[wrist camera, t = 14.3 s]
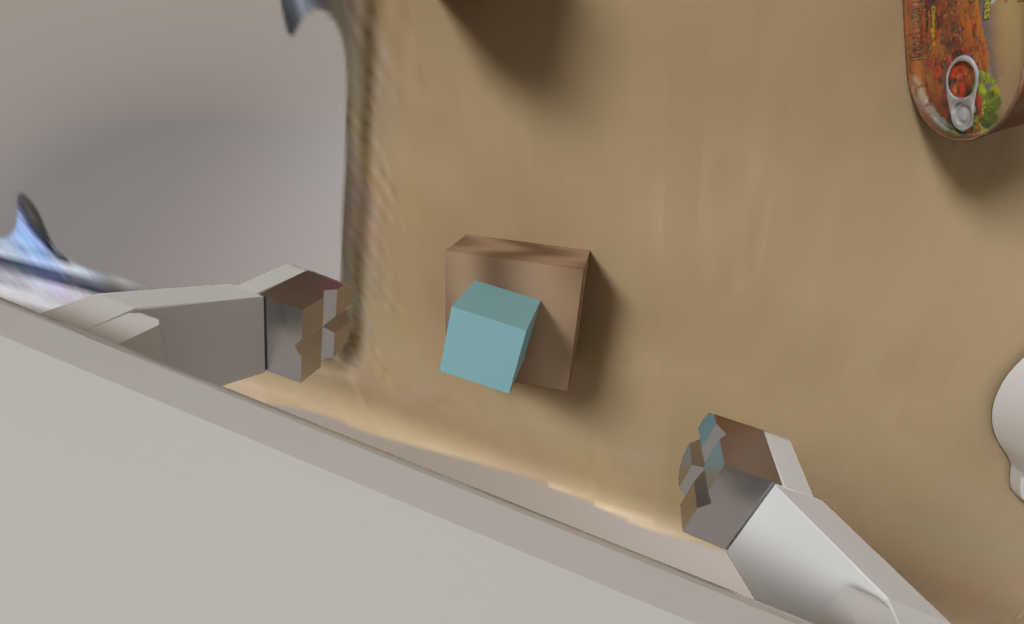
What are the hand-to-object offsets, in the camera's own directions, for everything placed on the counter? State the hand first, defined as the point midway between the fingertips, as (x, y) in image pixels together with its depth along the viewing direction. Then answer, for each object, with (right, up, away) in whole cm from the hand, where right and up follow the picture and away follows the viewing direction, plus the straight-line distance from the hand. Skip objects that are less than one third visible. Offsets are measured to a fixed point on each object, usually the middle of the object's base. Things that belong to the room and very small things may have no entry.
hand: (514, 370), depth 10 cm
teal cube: (-1, +1, +24) cm, 24 cm away
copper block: (+1, +2, +29) cm, 29 cm away
